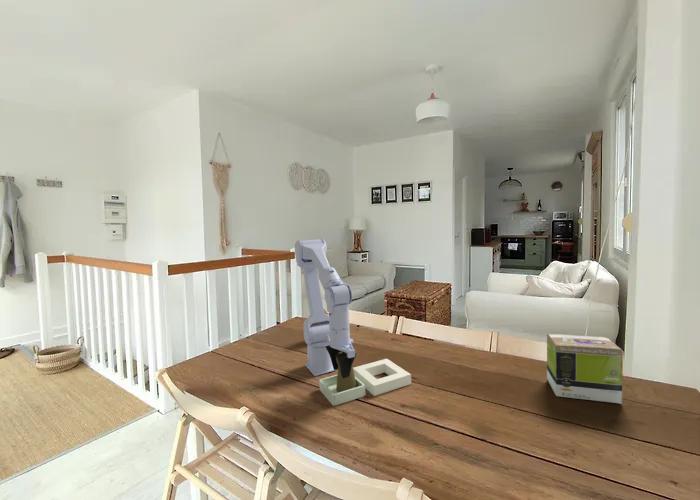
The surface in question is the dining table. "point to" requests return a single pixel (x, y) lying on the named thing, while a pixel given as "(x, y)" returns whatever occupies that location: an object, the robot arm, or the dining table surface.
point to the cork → (345, 380)
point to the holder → (385, 384)
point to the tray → (336, 398)
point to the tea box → (585, 367)
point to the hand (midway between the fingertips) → (341, 372)
